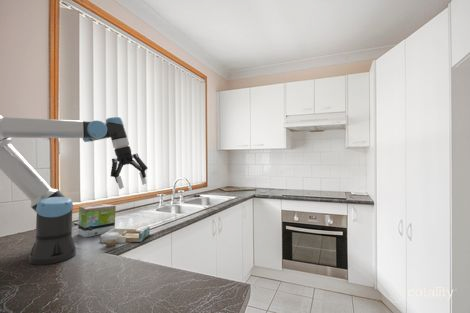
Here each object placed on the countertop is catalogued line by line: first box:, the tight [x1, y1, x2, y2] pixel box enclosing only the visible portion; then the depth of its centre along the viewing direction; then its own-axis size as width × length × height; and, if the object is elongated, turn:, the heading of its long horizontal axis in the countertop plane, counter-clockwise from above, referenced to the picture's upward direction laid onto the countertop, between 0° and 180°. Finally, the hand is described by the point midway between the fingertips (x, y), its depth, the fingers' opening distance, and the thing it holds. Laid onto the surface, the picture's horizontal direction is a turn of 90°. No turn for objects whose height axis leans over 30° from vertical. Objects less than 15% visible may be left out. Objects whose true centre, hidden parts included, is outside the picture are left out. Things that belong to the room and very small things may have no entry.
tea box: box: [77, 203, 117, 238], centre depth 130 cm, size 15×10×15 cm
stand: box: [105, 240, 116, 248], centre depth 111 cm, size 4×4×4 cm
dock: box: [99, 227, 137, 244], centre depth 122 cm, size 14×12×3 cm
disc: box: [101, 232, 120, 240], centre depth 111 cm, size 7×7×2 cm
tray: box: [119, 226, 151, 243], centre depth 122 cm, size 13×12×4 cm
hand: (133, 186), depth 127 cm, fingers open, 13 cm apart
